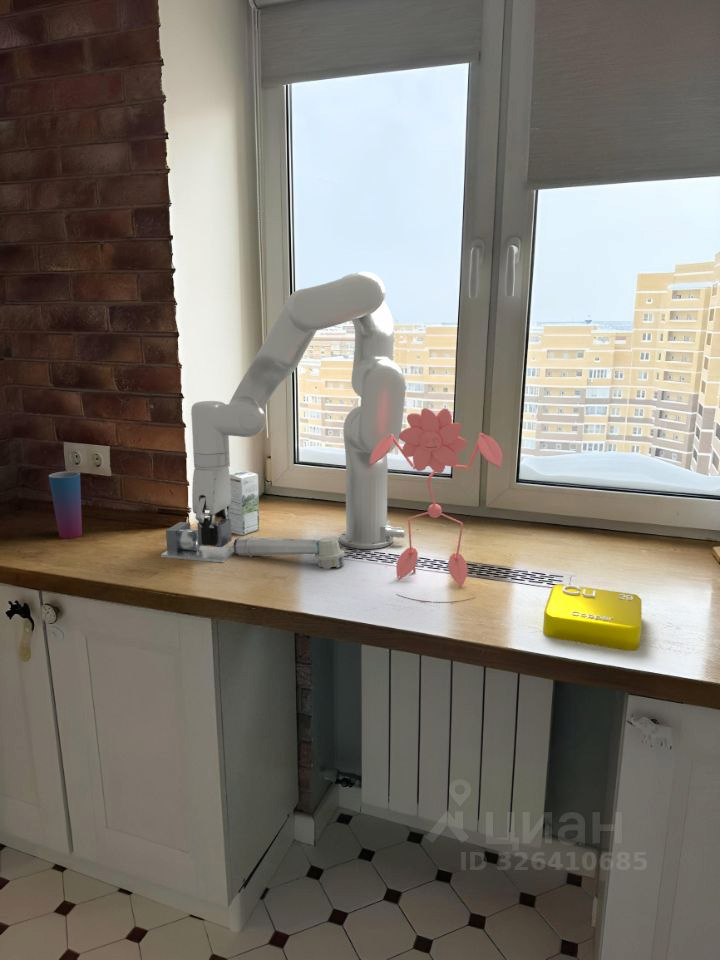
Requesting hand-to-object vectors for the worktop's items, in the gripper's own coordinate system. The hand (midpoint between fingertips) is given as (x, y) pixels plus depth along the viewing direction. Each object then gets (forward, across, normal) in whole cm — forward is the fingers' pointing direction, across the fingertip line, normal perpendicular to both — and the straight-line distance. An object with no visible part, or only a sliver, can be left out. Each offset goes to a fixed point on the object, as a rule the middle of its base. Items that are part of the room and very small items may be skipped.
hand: (215, 539), depth 149 cm
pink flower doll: (+3, +7, +48) cm, 49 cm away
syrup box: (+4, -17, -1) cm, 18 cm away
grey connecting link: (+4, -1, +17) cm, 17 cm away
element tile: (+4, +17, +78) cm, 80 cm away
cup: (+4, -4, -40) cm, 40 cm away
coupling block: (+1, 0, 0) cm, 1 cm away
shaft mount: (+3, 0, -4) cm, 5 cm away
